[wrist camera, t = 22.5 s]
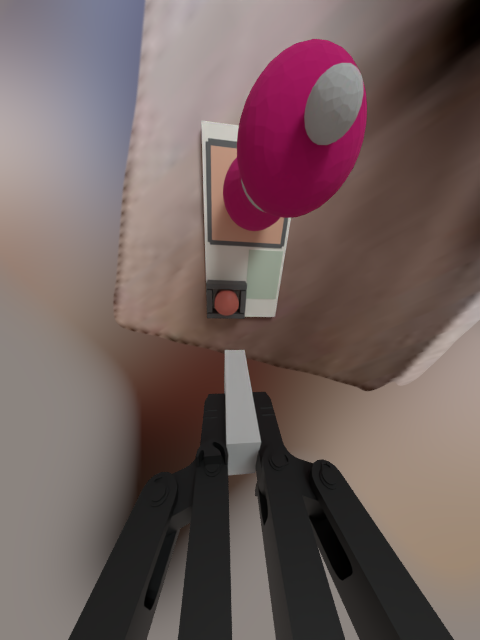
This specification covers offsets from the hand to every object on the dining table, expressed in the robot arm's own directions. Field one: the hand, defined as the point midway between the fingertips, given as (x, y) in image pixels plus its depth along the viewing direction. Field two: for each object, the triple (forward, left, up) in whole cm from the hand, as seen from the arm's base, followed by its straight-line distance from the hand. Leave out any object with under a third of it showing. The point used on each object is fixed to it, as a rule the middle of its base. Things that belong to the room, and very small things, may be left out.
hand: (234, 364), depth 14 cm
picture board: (-3, -8, -18) cm, 20 cm away
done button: (0, 0, -16) cm, 16 cm away
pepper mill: (-3, -13, -17) cm, 22 cm away
